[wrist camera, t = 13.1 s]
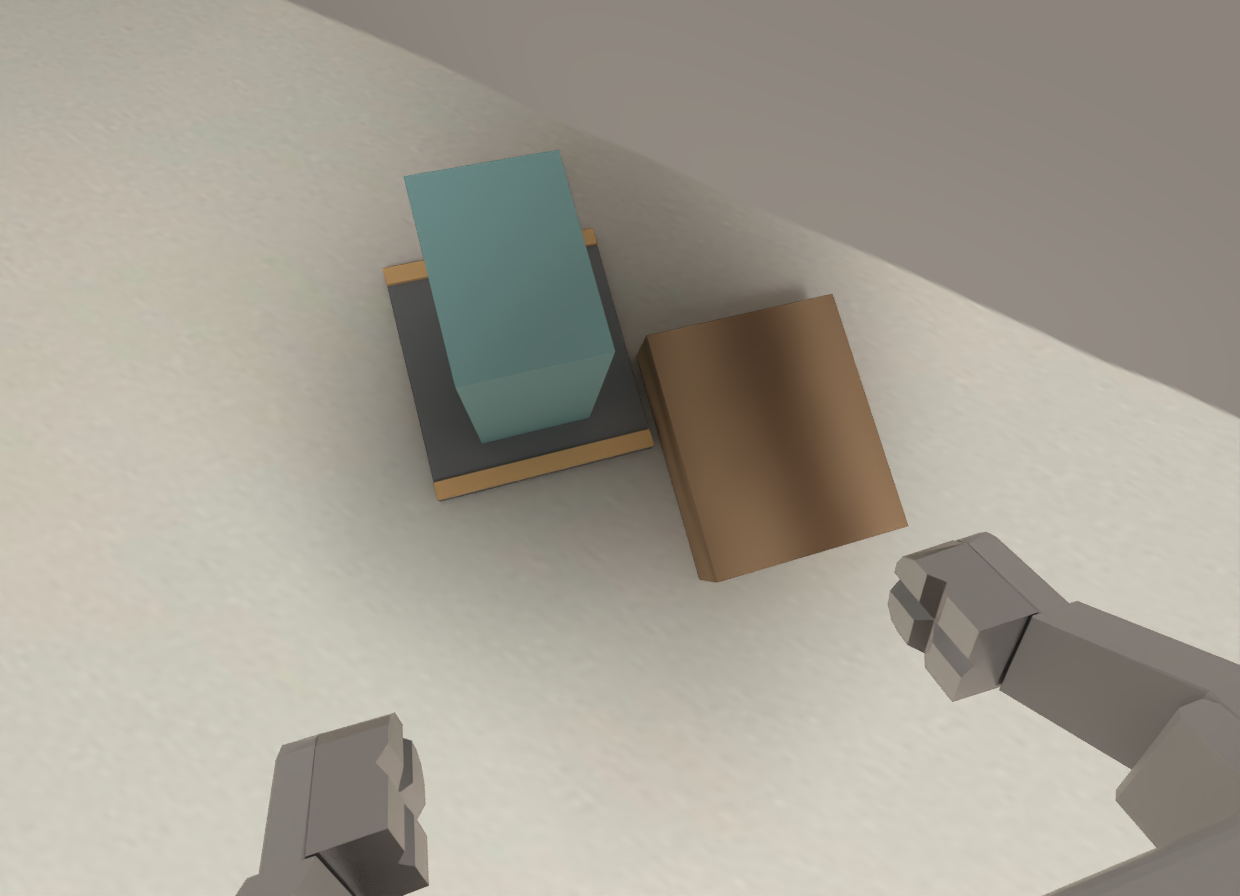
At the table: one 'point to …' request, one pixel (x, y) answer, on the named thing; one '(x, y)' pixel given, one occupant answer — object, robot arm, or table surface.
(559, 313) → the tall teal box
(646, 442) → the mat
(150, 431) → the table surface
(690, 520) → the block
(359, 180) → the table surface
